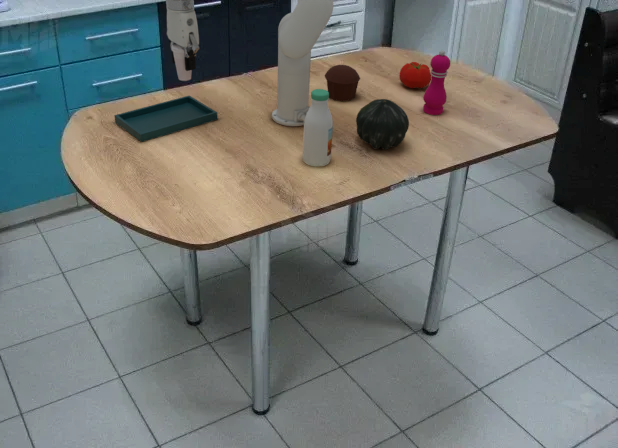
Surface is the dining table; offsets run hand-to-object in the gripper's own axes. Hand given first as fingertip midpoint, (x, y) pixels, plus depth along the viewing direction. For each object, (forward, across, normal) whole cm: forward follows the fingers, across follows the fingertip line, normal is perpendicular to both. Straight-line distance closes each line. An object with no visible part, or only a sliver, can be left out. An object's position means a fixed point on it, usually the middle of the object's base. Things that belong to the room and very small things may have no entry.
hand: (183, 65), depth 195 cm
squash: (+16, -48, -35) cm, 62 cm away
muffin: (+16, -16, -49) cm, 54 cm away
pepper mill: (+16, -42, -65) cm, 79 cm away
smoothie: (+4, 0, 0) cm, 4 cm away
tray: (+16, 0, +7) cm, 17 cm away
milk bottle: (+16, -45, -13) cm, 49 cm away
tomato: (+16, -24, -76) cm, 81 cm away
